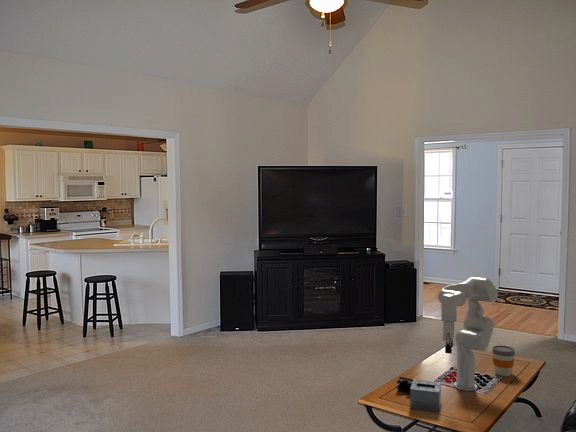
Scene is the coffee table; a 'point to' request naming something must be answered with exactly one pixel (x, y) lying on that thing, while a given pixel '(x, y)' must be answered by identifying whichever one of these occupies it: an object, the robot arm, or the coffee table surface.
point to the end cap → (404, 385)
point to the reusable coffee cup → (503, 360)
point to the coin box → (425, 395)
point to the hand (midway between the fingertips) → (449, 350)
